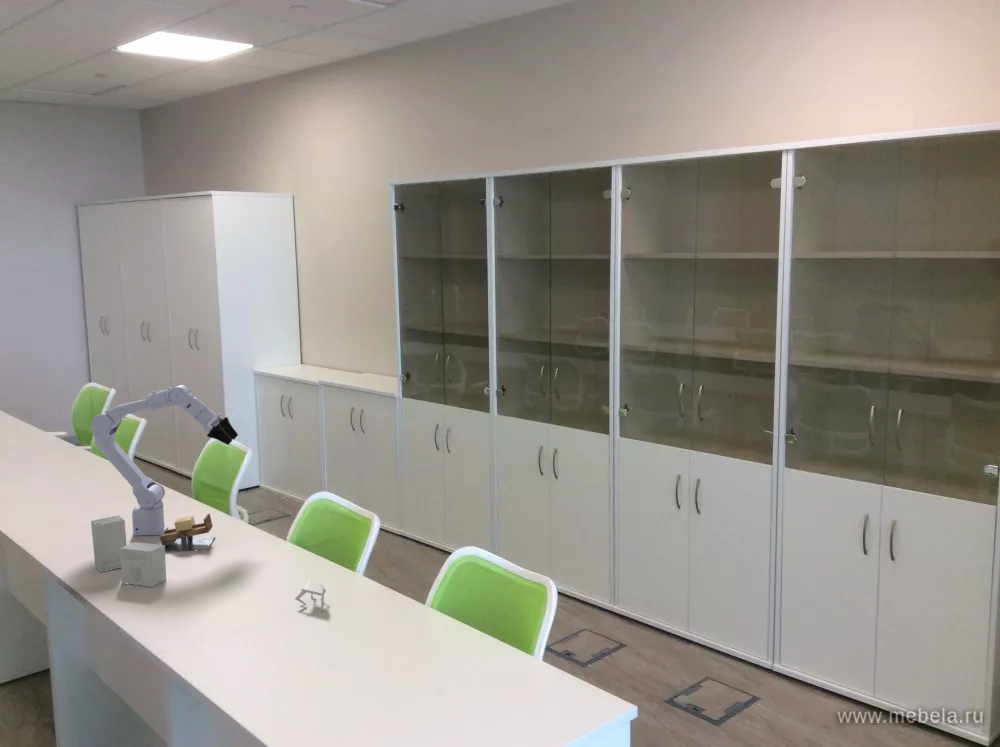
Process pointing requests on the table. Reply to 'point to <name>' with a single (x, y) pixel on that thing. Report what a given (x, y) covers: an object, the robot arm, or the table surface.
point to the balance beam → (200, 528)
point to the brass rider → (185, 524)
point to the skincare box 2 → (143, 564)
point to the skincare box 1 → (108, 542)
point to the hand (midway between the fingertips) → (233, 439)
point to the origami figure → (312, 592)
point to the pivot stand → (189, 544)
